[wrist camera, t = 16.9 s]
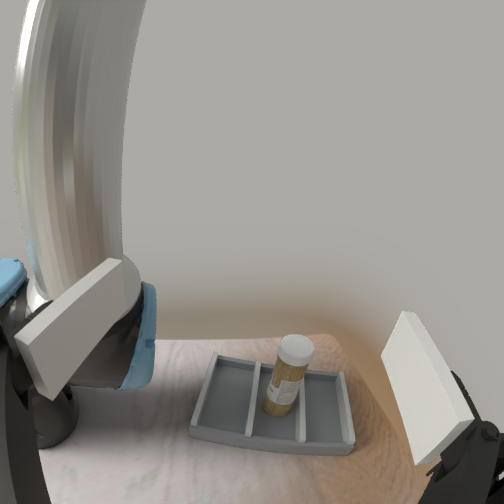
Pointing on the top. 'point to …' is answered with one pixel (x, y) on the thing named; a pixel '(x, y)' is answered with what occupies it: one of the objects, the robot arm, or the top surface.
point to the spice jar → (288, 374)
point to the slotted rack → (265, 425)
